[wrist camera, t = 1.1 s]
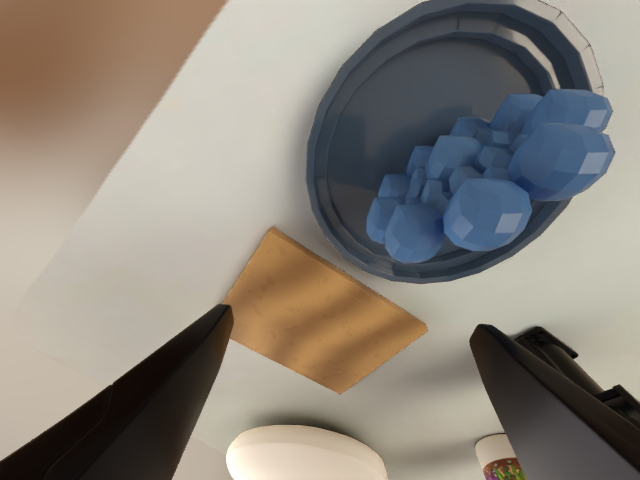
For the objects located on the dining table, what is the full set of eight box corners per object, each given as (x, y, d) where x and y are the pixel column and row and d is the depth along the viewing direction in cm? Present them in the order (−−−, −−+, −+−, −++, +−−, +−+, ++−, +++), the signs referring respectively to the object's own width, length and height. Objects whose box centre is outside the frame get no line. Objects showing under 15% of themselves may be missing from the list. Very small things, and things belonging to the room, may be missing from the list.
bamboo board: (425, 323, 26) (428, 330, 25) (340, 387, 32) (340, 394, 31) (271, 226, 22) (268, 230, 21) (211, 320, 28) (207, 327, 28)
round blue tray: (631, 135, 16) (671, 137, 14) (426, 300, 24) (433, 315, 22) (433, -83, 12) (450, -121, 10) (269, 196, 20) (261, 204, 18)
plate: (411, 517, 39) (279, 519, 46) (401, 465, 44) (285, 474, 52) (349, 466, 26) (179, 480, 33) (346, 402, 31) (201, 426, 39)
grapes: (386, 239, 21) (430, 355, 10) (344, 179, 19) (346, 249, 8) (523, 160, 17) (819, 217, 6) (489, 74, 15) (847, -50, 4)
